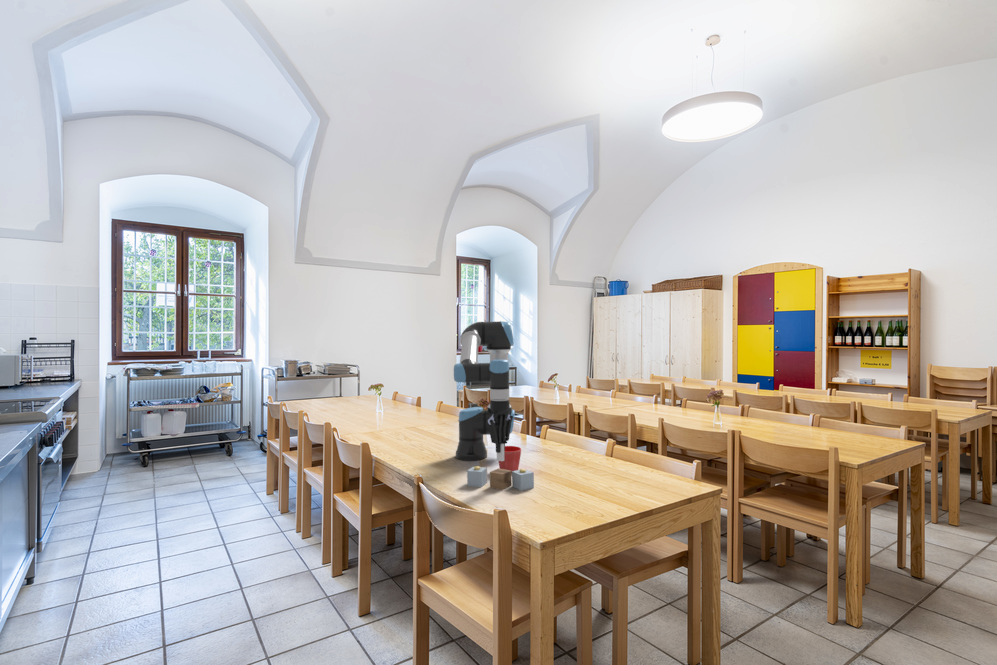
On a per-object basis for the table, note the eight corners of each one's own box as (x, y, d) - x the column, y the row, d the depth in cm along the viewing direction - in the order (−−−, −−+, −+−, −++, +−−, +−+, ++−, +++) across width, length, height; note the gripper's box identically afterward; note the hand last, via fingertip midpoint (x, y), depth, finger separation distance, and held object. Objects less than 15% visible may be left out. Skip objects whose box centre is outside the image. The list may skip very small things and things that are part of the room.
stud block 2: (525, 484, 197) (524, 466, 197) (533, 488, 192) (533, 470, 192) (512, 486, 194) (512, 469, 194) (520, 490, 189) (520, 472, 189)
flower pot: (522, 467, 221) (521, 445, 221) (520, 474, 210) (520, 451, 210) (498, 467, 222) (497, 445, 222) (495, 474, 211) (495, 451, 211)
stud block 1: (473, 481, 201) (472, 464, 201) (487, 482, 200) (486, 465, 200) (467, 486, 196) (467, 468, 196) (481, 487, 194) (481, 469, 194)
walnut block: (498, 483, 199) (498, 468, 199) (511, 485, 195) (511, 470, 195) (490, 487, 194) (489, 472, 194) (503, 490, 190) (502, 474, 190)
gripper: (504, 397, 202) (504, 455, 202) (480, 400, 192) (481, 462, 192) (518, 398, 196) (518, 458, 196) (495, 402, 187) (495, 465, 187)
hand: (500, 460), depth 194 cm, fingers closed
